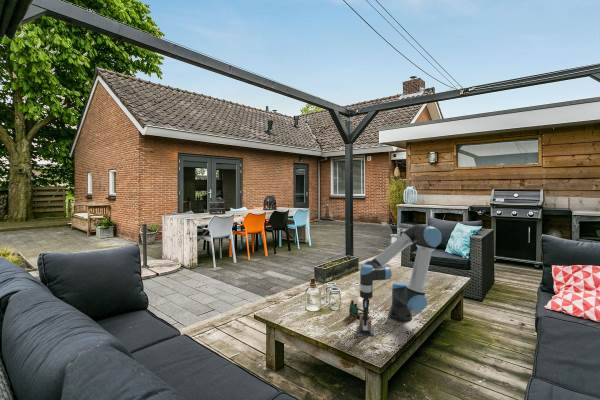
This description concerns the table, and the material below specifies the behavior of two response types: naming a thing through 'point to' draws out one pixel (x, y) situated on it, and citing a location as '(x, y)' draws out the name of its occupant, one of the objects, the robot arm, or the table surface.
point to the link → (362, 323)
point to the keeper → (366, 332)
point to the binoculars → (354, 310)
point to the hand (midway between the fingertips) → (365, 327)
